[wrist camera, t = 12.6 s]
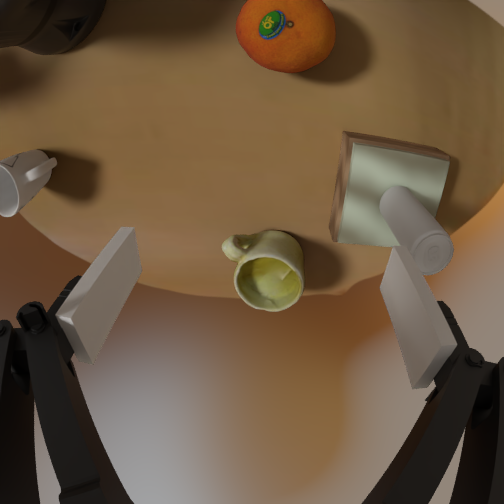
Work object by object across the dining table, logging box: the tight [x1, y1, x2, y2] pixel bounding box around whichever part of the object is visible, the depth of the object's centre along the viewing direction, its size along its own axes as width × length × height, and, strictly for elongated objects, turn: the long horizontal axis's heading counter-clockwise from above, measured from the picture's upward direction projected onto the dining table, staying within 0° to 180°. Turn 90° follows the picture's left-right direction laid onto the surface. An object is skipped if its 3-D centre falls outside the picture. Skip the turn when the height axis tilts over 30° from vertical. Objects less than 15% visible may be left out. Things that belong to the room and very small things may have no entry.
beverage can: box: [379, 186, 454, 275], centre depth 31 cm, size 5×5×12 cm
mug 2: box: [222, 230, 305, 311], centre depth 43 cm, size 12×10×10 cm
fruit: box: [236, 0, 336, 73], centre depth 27 cm, size 11×10×8 cm
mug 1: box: [0, 150, 57, 217], centre depth 37 cm, size 11×8×10 cm
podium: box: [329, 131, 450, 247], centre depth 38 cm, size 14×14×5 cm
